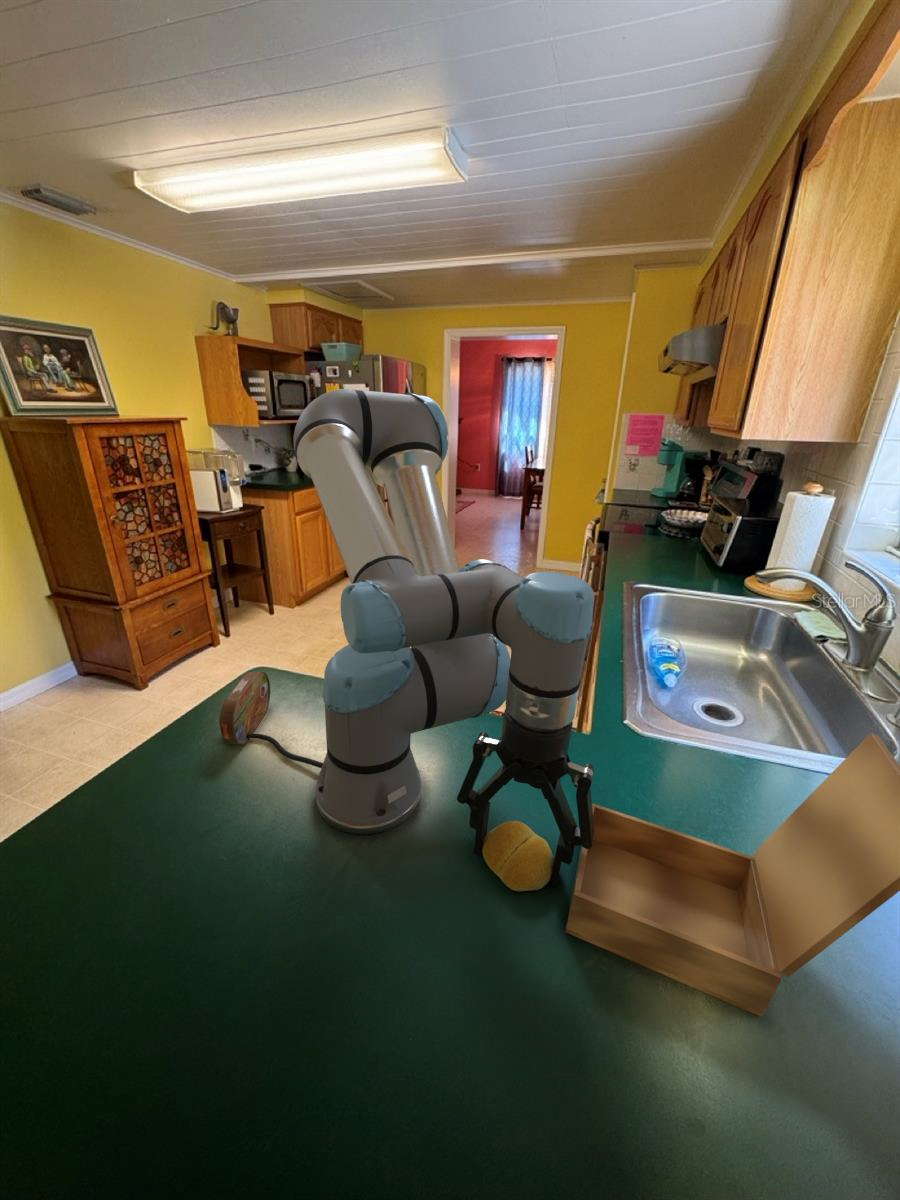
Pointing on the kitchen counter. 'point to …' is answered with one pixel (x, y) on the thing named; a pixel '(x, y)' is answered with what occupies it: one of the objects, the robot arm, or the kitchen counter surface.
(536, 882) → the bread roll
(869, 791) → the bread box lid
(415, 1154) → the kitchen counter surface
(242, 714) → the tin
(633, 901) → the bread box
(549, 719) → the robot arm
